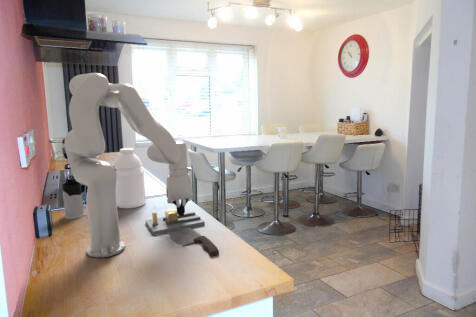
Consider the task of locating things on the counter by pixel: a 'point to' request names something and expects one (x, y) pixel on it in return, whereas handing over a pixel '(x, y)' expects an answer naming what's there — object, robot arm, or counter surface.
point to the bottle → (129, 180)
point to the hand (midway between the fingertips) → (181, 214)
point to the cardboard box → (171, 215)
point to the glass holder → (73, 200)
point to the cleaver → (193, 239)
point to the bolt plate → (173, 223)
